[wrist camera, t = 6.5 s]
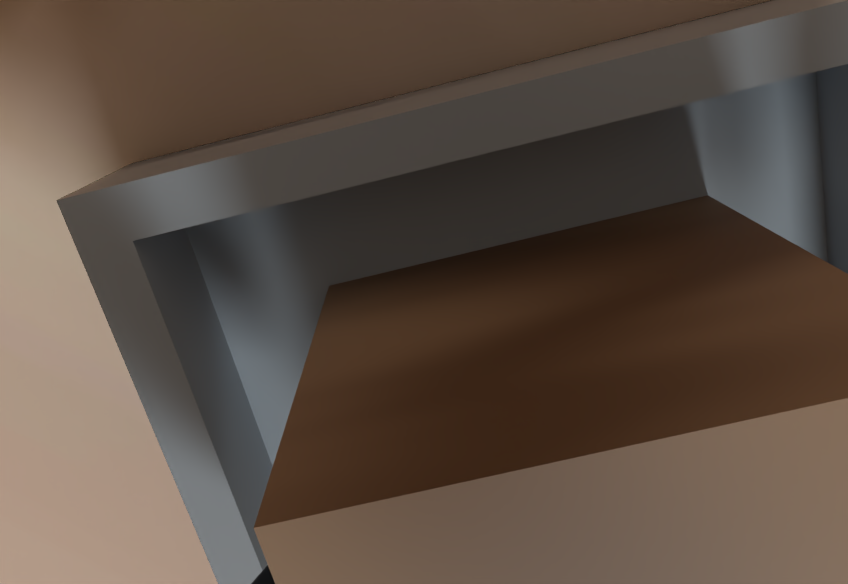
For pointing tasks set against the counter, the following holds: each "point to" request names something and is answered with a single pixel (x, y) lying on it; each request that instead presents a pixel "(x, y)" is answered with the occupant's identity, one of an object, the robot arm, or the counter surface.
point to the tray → (438, 213)
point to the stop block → (575, 415)
